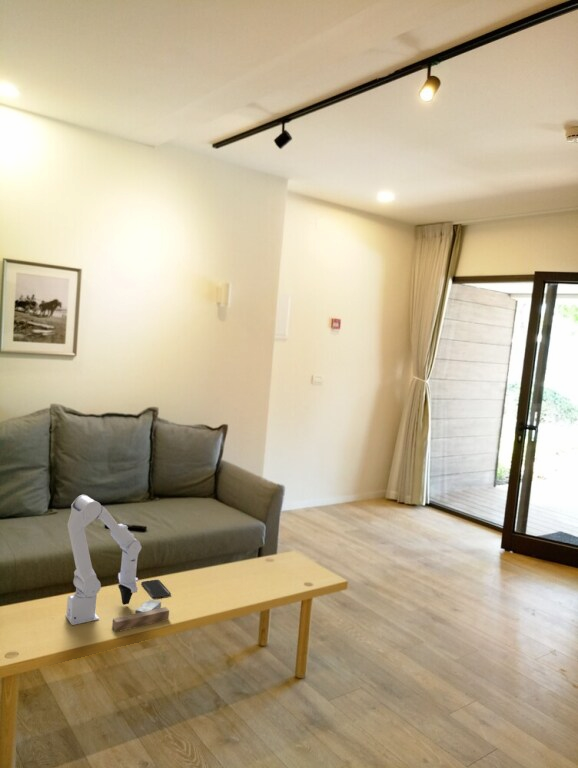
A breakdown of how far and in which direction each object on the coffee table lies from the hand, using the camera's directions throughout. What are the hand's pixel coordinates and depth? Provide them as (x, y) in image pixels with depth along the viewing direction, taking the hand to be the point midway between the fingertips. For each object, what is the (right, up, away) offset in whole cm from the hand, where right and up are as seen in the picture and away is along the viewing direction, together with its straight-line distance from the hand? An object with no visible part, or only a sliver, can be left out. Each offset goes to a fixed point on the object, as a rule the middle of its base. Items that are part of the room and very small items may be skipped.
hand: (125, 603), depth 211 cm
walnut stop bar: (+9, -3, -12) cm, 15 cm away
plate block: (+9, -3, -3) cm, 10 cm away
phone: (+7, -1, +16) cm, 18 cm away
